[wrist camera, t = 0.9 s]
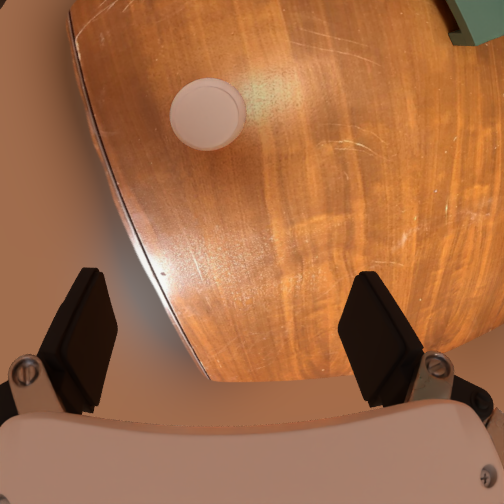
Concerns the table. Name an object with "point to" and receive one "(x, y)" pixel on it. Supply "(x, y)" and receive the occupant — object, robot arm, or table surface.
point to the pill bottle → (208, 114)
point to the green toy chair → (477, 21)
